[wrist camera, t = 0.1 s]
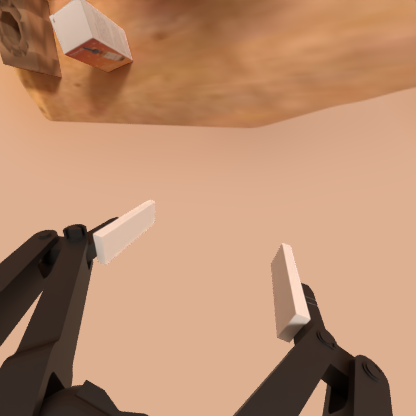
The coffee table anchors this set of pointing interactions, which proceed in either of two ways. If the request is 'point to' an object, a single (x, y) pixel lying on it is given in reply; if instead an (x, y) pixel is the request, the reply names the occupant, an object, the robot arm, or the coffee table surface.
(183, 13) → the coffee table surface
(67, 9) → the small box
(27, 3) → the socket block
